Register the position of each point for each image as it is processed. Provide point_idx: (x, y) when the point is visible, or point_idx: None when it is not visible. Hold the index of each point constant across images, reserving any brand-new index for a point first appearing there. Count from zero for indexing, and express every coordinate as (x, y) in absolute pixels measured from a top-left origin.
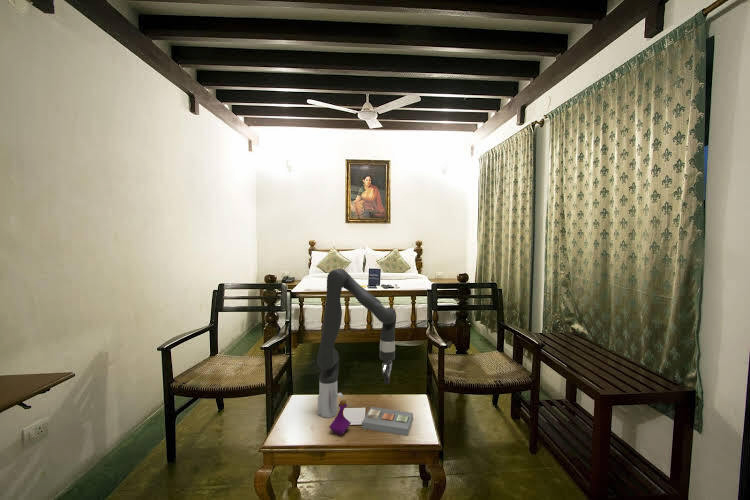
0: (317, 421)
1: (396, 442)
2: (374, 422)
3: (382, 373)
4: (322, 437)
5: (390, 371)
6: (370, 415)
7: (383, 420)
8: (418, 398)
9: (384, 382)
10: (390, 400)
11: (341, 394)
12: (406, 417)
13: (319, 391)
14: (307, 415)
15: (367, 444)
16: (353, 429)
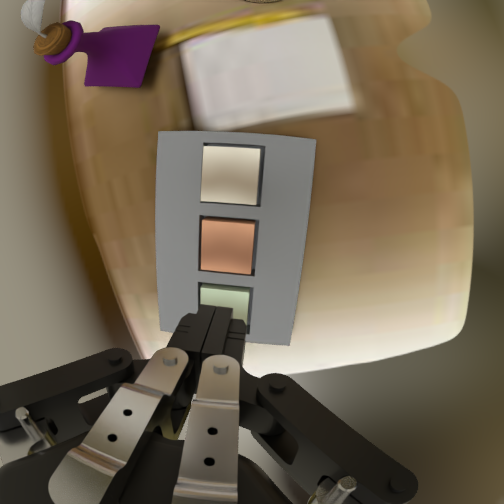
0: None
1: (120, 283)
2: (167, 189)
3: (38, 378)
4: (97, 30)
5: (263, 436)
6: (204, 159)
7: (193, 228)
8: (440, 332)
9: (198, 310)
10: (431, 223)
11: (34, 14)
12: None
13: None
14: None
15: (83, 188)
16: (154, 102)
